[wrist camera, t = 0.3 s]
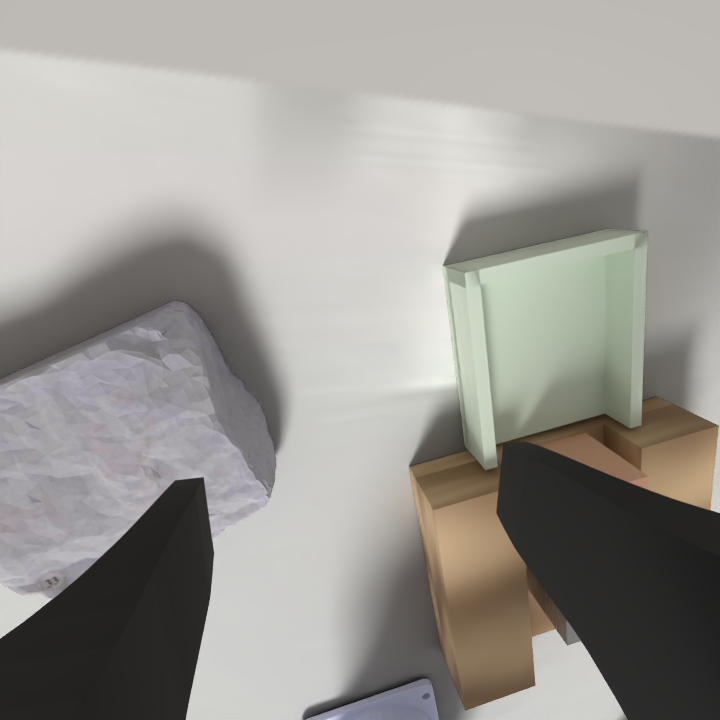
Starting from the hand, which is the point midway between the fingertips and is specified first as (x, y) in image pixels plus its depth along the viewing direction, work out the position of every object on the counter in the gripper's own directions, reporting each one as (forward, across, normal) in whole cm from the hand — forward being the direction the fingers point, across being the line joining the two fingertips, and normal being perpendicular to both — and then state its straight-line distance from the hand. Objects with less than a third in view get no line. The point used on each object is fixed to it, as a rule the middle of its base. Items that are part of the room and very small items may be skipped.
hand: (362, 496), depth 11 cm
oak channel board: (+10, -12, +11) cm, 19 cm away
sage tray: (+10, -10, 0) cm, 14 cm away
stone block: (+10, +8, +3) cm, 14 cm away
